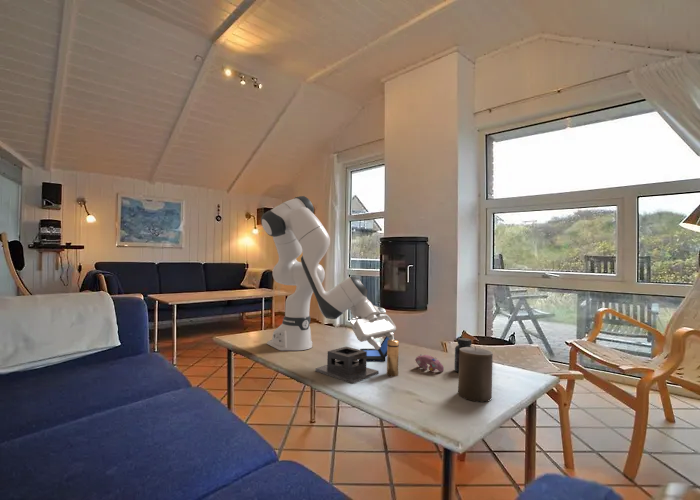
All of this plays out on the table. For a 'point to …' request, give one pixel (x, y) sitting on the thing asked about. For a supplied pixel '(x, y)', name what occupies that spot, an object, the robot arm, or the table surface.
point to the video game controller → (433, 363)
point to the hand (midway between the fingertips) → (386, 346)
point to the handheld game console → (377, 352)
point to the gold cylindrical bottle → (392, 357)
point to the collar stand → (347, 365)
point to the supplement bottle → (461, 343)
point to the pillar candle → (475, 374)
